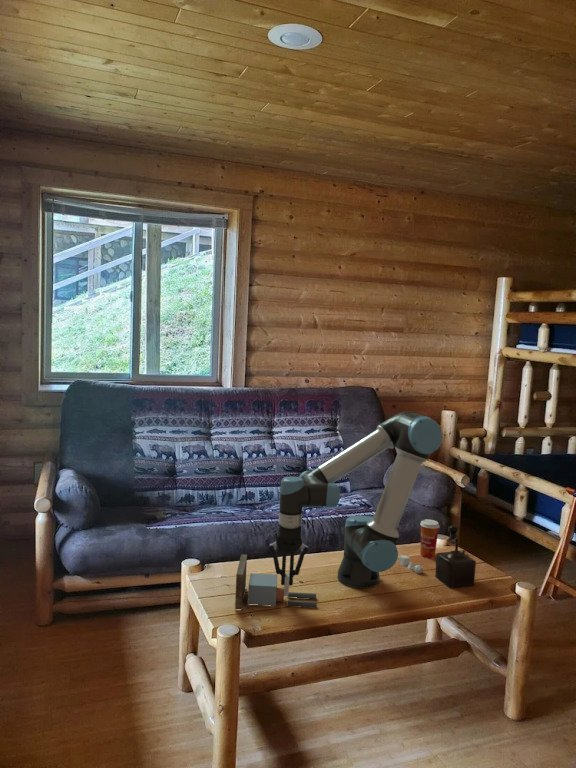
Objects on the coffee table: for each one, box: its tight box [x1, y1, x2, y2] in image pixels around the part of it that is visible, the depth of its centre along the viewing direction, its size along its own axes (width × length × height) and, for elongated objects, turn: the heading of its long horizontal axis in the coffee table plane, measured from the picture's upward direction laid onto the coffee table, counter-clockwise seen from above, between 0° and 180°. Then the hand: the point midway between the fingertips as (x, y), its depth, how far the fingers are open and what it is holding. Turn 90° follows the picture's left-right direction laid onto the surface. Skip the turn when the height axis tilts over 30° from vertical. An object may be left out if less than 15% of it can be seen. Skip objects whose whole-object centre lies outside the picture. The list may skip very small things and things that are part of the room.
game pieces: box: [398, 554, 424, 575], centre depth 226 cm, size 12×3×3 cm, turn 26°
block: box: [247, 572, 278, 606], centre depth 194 cm, size 9×9×7 cm
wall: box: [234, 553, 248, 610], centre depth 194 cm, size 2×16×12 cm, turn 179°
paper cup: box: [419, 519, 441, 559], centre depth 239 cm, size 8×8×14 cm
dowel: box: [276, 587, 285, 602], centre depth 194 cm, size 10×4×4 cm, turn 89°
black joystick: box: [434, 525, 477, 589], centre depth 218 cm, size 16×11×18 cm
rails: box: [286, 591, 318, 609], centre depth 194 cm, size 10×7×2 cm
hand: (286, 594), depth 194 cm, fingers closed
